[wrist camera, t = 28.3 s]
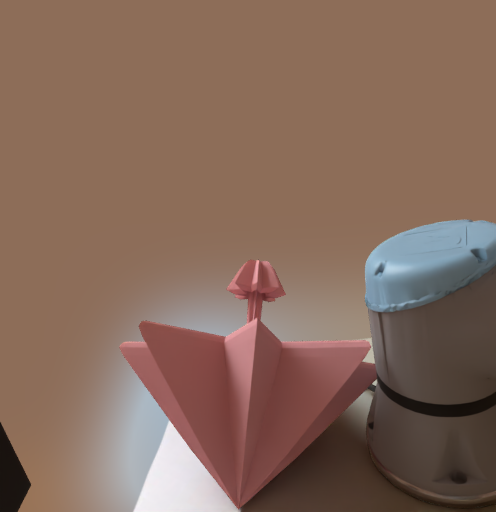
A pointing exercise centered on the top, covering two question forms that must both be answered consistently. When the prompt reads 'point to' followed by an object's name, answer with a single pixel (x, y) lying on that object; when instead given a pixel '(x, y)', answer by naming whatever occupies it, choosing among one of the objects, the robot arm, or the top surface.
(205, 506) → the top surface
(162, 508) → the top surface
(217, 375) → the sculpture
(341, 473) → the top surface
